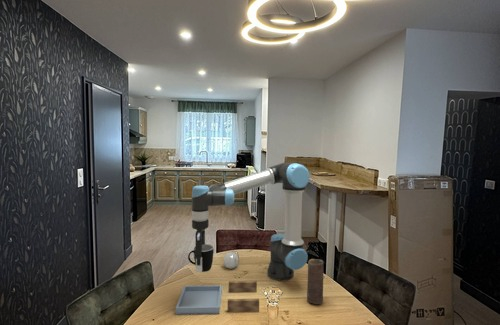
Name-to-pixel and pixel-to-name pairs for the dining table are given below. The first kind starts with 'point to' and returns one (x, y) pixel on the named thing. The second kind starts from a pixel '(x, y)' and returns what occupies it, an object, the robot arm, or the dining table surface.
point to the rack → (243, 304)
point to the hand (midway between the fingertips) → (200, 266)
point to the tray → (199, 300)
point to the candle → (315, 281)
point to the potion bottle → (231, 260)
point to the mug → (204, 257)
